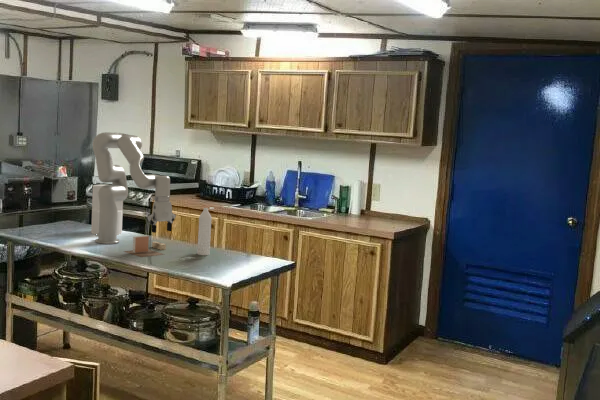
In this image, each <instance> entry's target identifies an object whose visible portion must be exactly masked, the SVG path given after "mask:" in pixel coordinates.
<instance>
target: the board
mask: <svg viewBox="0 0 600 400" xmlns="http://www.w3.org/2000/svg"><path fill="white" fill-rule="evenodd" d="M123 252H124V253H127V254H130V255H133V256H136V257H139V258H147V257H157V256H164V255H165V253H162V252H159V251H156V250H152V249H149V248H148V251H147V252H138V253H134V252H133V249H132V250H124V251H123Z"/></svg>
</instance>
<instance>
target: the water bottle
mask: <svg viewBox="0 0 600 400" xmlns="http://www.w3.org/2000/svg"><path fill="white" fill-rule="evenodd" d="M202 210H203V211H202V212H201V213H200V215H199V216H198V231H197V232H198V233H197V234H198V236H197V252H196V254H197V255H199V256H210V255H211V253H210V252H211V235H212V234H211V233H212V232H211V231H212V218H213V217H212V215H211V213H210V212H209V210H215V207H211V206H210V207H209V208H207V207H203V209H202Z"/></svg>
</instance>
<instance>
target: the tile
mask: <svg viewBox="0 0 600 400" xmlns="http://www.w3.org/2000/svg"><path fill="white" fill-rule="evenodd" d="M149 240H150V235H137V236H136V235H135V236H133V239H132V250H133V252H134V253H138V252H147V251H148V249H149V242H150V241H149Z"/></svg>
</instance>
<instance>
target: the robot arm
mask: <svg viewBox="0 0 600 400" xmlns="http://www.w3.org/2000/svg"><path fill="white" fill-rule="evenodd" d="M142 146H143V142H142V140H141V138H140V137H139V136H138V135H135V134H134V135H133V134H128V133H121V132H110V131H109V132H100V133H98V134H97V135H95V137H94V138H93V141H92V149H93V153H94V157H95V163H96V169H97V176H98V177H97V178H98V179H99V181H100V182H102V183H112V184H105V186H102V187H101V188H100V189H99V192H98V198H99V206H100V211H99V233H98V234H97V235H96V236H97V237H98V238H96V239H95V243H98V244H103V245H104V244H105V245H113V244H118V243H120V239H119V238H117V237H118V235H117V214H118V210H117V206H116V203H115V202H117V201H123V202H124V201H125V200H126V199H127V198H128V195H129V188H128V180H127V176H126V175H127V174H126V171H125V168H124V167H123V166H121V165H119V164H114V162H113V157H112V154H111V152H110V151H109V150H108V149H119V150H120V152H121V153H122V155H123V156H124V158H125V159H126V161H127V162H128V164H129V174H130V176H131V179H132V181H133V182H134V183H135V186H137V187H138V188H139V189H142V190H151V189H154V197H153V198H152V199H153V205H152V211H151V212H152V213H151V214H150V215H148V216H147V220H148V222H149V224H150V226H151V228H150V229H151V233H153V234H155V233H157V225H156V224H157V223H158V222H167V223H166V231H167V232H172V229H173V228H172V225H173V223H174V222H175V219H176V217H177V214H176V213H173V205H172V202H171V201H170V197H171V178H170V176H168V175H159V174H155V173H154V174H153V173H152V174H145V173H144V171H143V170H142V168H141V166H140V164H141V163H142V162H143V161H144V159H145V156H144V154H143V153H142V151H141V149H142Z"/></svg>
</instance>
